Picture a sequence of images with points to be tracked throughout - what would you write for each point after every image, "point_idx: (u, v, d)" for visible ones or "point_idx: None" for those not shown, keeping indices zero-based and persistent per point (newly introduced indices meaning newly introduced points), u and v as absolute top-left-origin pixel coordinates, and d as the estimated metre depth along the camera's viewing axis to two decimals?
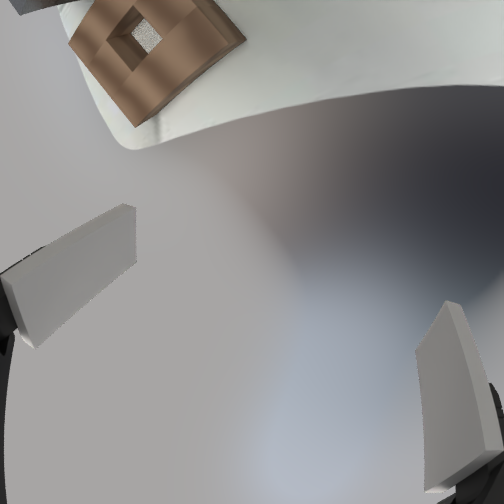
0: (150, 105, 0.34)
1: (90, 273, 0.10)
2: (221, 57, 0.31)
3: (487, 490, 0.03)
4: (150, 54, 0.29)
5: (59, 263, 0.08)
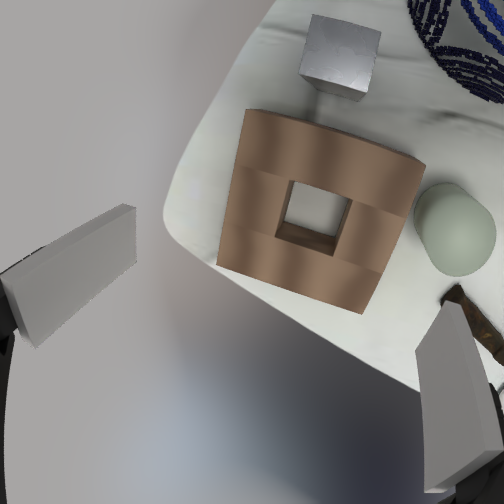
0: (254, 274, 0.35)
1: (90, 273, 0.10)
2: None
3: (487, 490, 0.03)
4: (308, 250, 0.32)
5: (59, 263, 0.08)
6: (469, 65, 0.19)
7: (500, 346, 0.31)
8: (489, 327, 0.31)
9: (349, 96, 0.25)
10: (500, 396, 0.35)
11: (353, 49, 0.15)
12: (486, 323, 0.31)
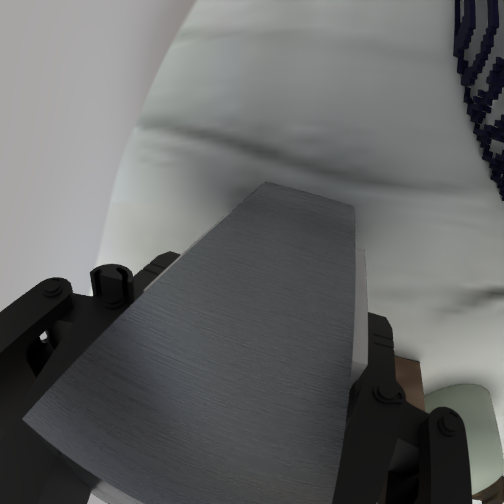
0: None
1: None
2: None
3: (349, 417, 0.06)
4: None
5: None
6: None
7: (491, 496, 0.18)
8: None
9: None
10: None
11: None
12: None
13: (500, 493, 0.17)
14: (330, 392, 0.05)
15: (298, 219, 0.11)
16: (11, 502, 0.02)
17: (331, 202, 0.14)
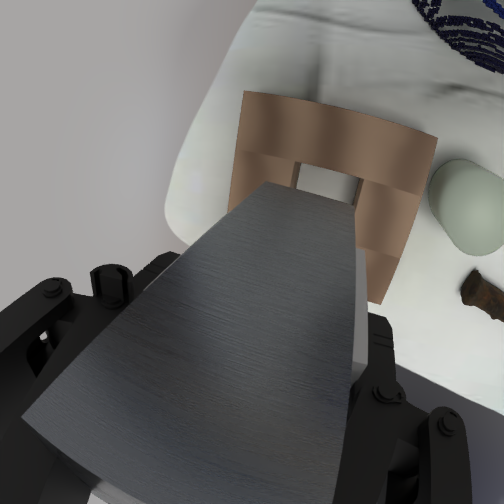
0: None
1: None
2: None
3: (349, 418, 0.06)
4: None
5: None
6: (471, 33, 0.16)
7: None
8: None
9: None
10: None
11: None
12: None
13: None
14: (330, 390, 0.05)
15: (298, 218, 0.11)
16: (11, 502, 0.02)
17: (331, 201, 0.14)
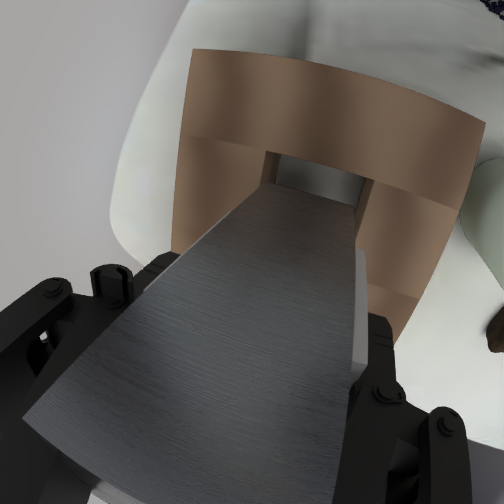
0: None
1: None
2: None
3: (349, 418, 0.06)
4: None
5: None
6: None
7: None
8: None
9: None
10: None
11: None
12: None
13: None
14: (330, 391, 0.05)
15: (298, 219, 0.11)
16: (11, 502, 0.02)
17: (331, 202, 0.14)
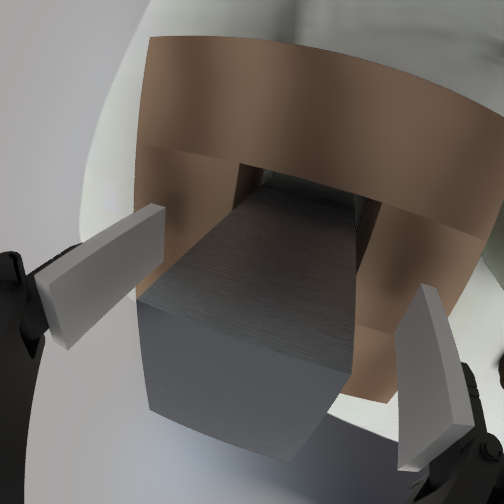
0: None
1: (122, 272, 0.11)
2: None
3: (458, 469, 0.04)
4: None
5: (95, 262, 0.09)
6: None
7: None
8: None
9: None
10: None
11: (259, 404, 0.06)
12: None
13: None
14: (343, 287, 0.08)
15: (310, 195, 0.14)
16: None
17: None
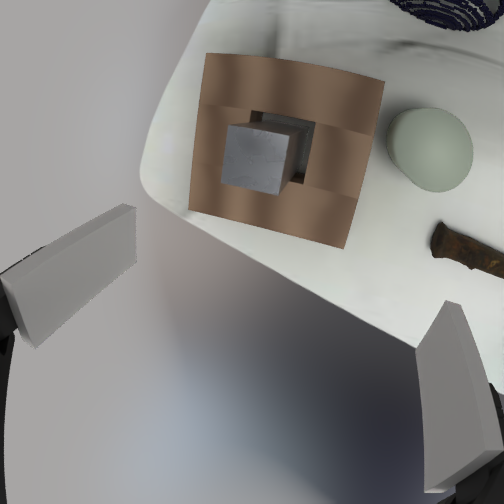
0: (225, 214, 0.34)
1: (90, 273, 0.10)
2: None
3: (487, 490, 0.03)
4: None
5: (59, 263, 0.08)
6: None
7: None
8: (492, 253, 0.29)
9: None
10: None
11: (264, 157, 0.21)
12: (487, 250, 0.29)
13: None
14: (290, 132, 0.23)
15: (284, 124, 0.29)
16: None
17: (298, 125, 0.32)
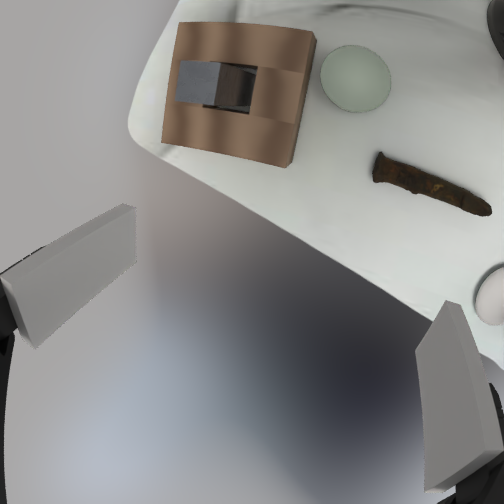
0: (189, 143, 0.39)
1: (90, 273, 0.10)
2: None
3: (487, 490, 0.03)
4: (229, 113, 0.36)
5: (59, 263, 0.08)
6: None
7: (462, 194, 0.33)
8: (434, 178, 0.34)
9: None
10: (477, 296, 0.39)
11: (204, 79, 0.26)
12: (428, 175, 0.34)
13: None
14: None
15: None
16: None
17: None
